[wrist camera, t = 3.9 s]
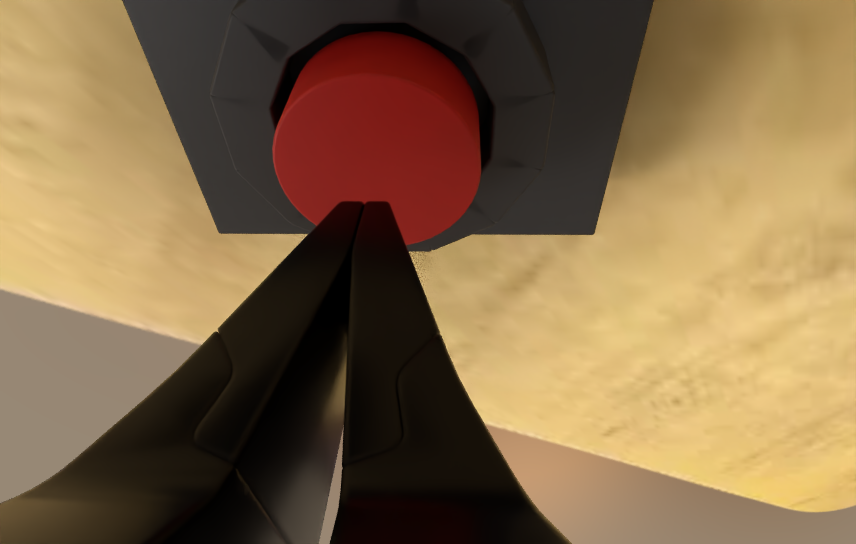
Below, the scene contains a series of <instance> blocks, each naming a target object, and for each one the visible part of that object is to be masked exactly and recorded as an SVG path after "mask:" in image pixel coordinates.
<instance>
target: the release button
mask: <svg viewBox="0 0 856 544" xmlns="http://www.w3.org/2000/svg"><path fill="white" fill-rule="evenodd" d="M272 150H273V162H274V167H275V172H276V175H277V177H278V180H279V183H280V185H281V187H282V189H283V191H284V193H285V194H286V196H287V197H288V199H289V200H290V201H291V203H292V204H293V205H294V206H295V207H296V208H297V210H298V211H299V212H300V213H301V214H302V215H304V216H305V217H306V218H307V219H308V220H309V221H311V222H312V223H314V224H315V225H316V226H317V225H318V224H319V223H320V222H321V221H322V220H323V219H324V217H325V216H326V215H327V214H328V213H329V212H330V211H331V210H332V209H333V208H334V207H335V206H336V205H337V204H338V203H339V202H341V201H362V202H363V203H364V204H365V203H366V202H367V201H387V202H389V203H390V205H391V208H392V211H393V213H394V216H395V218H396V221H397V223H398V226H399V229H400V231H401V234H402V236H403V239H404V241H405V244H406V245H410V244H414V243H418V242H421V241H424V240H427V239H430V238H432V237H434V236H436V235H438V234H440V233H442V232H443V231H445V230H446V229H448V228H449V227H451V226H452V225H453V224H454V223H455V222H457V221H458V220H459V219H460V217H461V216H462V215H463V214H464V213H465V212H466V210H467V209H468V207H469V206H470V204H471V203H472V201H473V199H474V197H475V195H476V193H477V190H478V186H479V183H480V176H481V153H480V132H479V113H478V108H477V102H476V99H475V96H474V94H473V91H472V89H471V87H470V85H469V83H468V81H467V79H466V78H465V77H464V75H463V74H462V72H461V71H460V70H459V68H458V67H457V66H456V65H455V64H454V63H453V62H452V61H451V60H450V59H449V58H448V57H446V56H445V55H444V54H443V53H442V52H440V51H439V50H437V49H435V48H434V47H432V46H431V45H429V44H427V43H425V42H423V41H421V40H418V39H416V38H413V37H410V36H407V35H404V34H398V33H393V32H381V31H372V32H361V33H357V34H352V35H348V36H346V37H343V38H340V39H338V40H335V41H334V42H332V43H330V44H328V45H326V46H325V47H323V48H322V49H321V50H320V51H318V52H317V53H316V54H315V55H314V56H313V57H312V58H311V59H310V60H309V61H308V62H307V63H306V65H305V66H304V68H303V69H302V70H301V72H300V74H299V76H298V78H297V80H296V82H295V85H294V87H293V89H292V92H291V94H290V96H289V99H288V101H287V103H286V106H285V108H284V110H283V113H282V115H281V118H280V120H279V122H278V125H277V127H276V131H275V134H274V139H273V148H272Z"/></svg>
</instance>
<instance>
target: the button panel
mask: <svg viewBox="0 0 856 544" xmlns="http://www.w3.org/2000/svg"><path fill="white" fill-rule="evenodd" d="M122 1H123V3H124V6H125V8H126V10H127V13H128V15H129V18H130V20H131V22H132V25H133V27H134V30H135V32H136V34H137V37H138V39H139V42H140V44H141V46H142V49H143V51H144V54H145V56H146V59H147V61H148V63H149V66H150V68H151V71H152V73H153V75H154V78H155V80H156V83H157V85H158V87H159V90H160V92H161V95H162V97H163V99H164V102H165V104H166V107H167V109H168V111H169V114H170V116H171V119H172V121H173V123H174V126H175V128H176V131H177V133H178V135H179V138H180V140H181V143H182V145H183V147H184V150H185V152H186V155H187V157H188V159H189V162H190V164H191V167H192V169H193V171H194V174H195V176H196V179H197V181H198V184H199V186H200V188H201V191H202V193H203V196H204V198H205V200H206V203H207V205H208V208H209V210H210V212H211V215H212V217H213V220H214V222H215V224H216V227H217V229H218V232H219V233H221V234H309V233H310V232H311V231H312V230H313V229H314V228H315V227H316V225H315V224H314V223H312V222H311V221H309V220H308V219H307V218H306V217H305V216H304V215H302V214H301V213H300V212H299V211H298V210H297V208H296V207H295V206H294V205H293V204H292V203H291V201H290V200H289V199H288V197H287V196H286V194H285V193H284V191H283V189H282V187H281V185H280V183H279V180H278V177H277V175H276V172H275V167H274V162H273V150H272V148H273V139H274V134H275V131H276V127H277V125H278V122H279V120H280V118H281V115H282V113H283V110H284V108H285V106H286V103H287V101H288V99H289V96H290V94H291V92H292V89H293V87H294V85H295V82H296V80H297V78H298V76H299V74H300V72H301V70H302V69H303V68H304V66H305V65H306V63H307V62H308V61H309V60H310V59H311V58H312V57H313V56H314V55H315V54H316V53H317V52H318V51H320V50H321V49H322V48H323V47H325V46H326V45H328V44H330V43H332V42H334V41H335V40H338V39H340V38H343V37H346V36H348V35H352V34H357V33H361V32H372V31H381V32H393V33H398V34H404V35H407V36H410V37H413V38H416V39H418V40H421V41H423V42H425V43H427V44H429V45H431V46H432V47H434V48H435V49H437V50H439V51H440V52H442V53H443V54H444V55H445V56H446V57H448V58H449V59H450V60H451V61H452V62H453V63H454V64H455V65H456V66H457V67H458V68H459V70H460V71H461V72H462V74H463V75H464V77H465V78H466V79H467V81H468V83H469V85H470V87H471V89H472V91H473V94H474V96H475V99H476V102H477V108H478V113H479V132H480V153H481V176H480V183H479V186H478V190H477V193H476V195H475V197H474V199H473V201H472V203H471V204H470V206H469V207H468V209H467V210H466V212H465V213H464V214H463V215H462V216H461V217H460V219H459V220H458V221H457V222H455V223H454V224H453V225H452V226H451V227H449V228H448V229H446V230H445V231H443V232H442V233H440V234H438V235H436V236H434V237H432V238H430V239H427V240H424V241H421V242H418V243H414V244H410V245H406V247H407V249H408V251H425V252H429V251H431V250H435V249H438V248H440V247H443V246H445V245H447V244H450V243H452V242H455V241H457V240H460V239H462V238H464V237H467V236H469V235H472V234H500V235H593V234H594V233H595V229H596V225H597V221H598V217H599V213H600V209H601V205H602V201H603V197H604V193H605V190H606V186H607V182H608V178H609V174H610V170H611V166H612V162H613V158H614V154H615V150H616V147H617V143H618V139H619V135H620V131H621V127H622V123H623V119H624V115H625V111H626V107H627V104H628V100H629V96H630V92H631V88H632V84H633V80H634V76H635V72H636V68H637V64H638V61H639V57H640V53H641V49H642V45H643V41H644V37H645V33H646V29H647V25H648V22H649V18H650V14H651V10H652V6H653V2H654V0H122Z"/></svg>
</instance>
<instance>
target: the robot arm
mask: <svg viewBox="0 0 856 544" xmlns="http://www.w3.org/2000/svg"><path fill="white" fill-rule="evenodd" d="M218 332H219V333H218ZM218 332H214V333H213V334H212V335H211V336H210V337H209V338H208V339H207V340H206V341H205V342H204V343H203V344H202V345H201V346H200V347H199V348H198V349H197V350H196V351H195V352H194V353H193V354H192V355H191V356H190V357H189V358H188V359H187V360H186V361H185V362H184V363H183V364H182V365H181V366H180V367H179V368H178V369H177V370H176V371H175V372H174V373H173V374H172V375H171V376H170V377H169V378H167V379H166V380H165V381H164V382H163V383H162V384H161V385H160V386H159V387H157V388H156V389H155V390H154V391H153V392H152V393H151V394H150V395H148V396H147V397H146V398H145V399H144V400H143V401H142V402H140V403H139V404H138V405H137V406H136V407H135V408H134V409H132V410H131V411H130V412H129V413H128V414H127V415H125V416H124V417H123V418H122V419H121V420H120V421H118V422H117V423H116V424H115V425H114V426H113V427H112V428H110V429H109V430H108V431H107V432H106V433H104V434H103V435H102V436H101V437H100V438H99V439H97V440H96V441H95V442H94V443H93V444H92V445H91V446H89V447H88V448H87V449H86V450H85V451H83V453H81V454H80V455H79V456H78V457H77V458H75V459H74V460H73V461H72V462H70V463H69V464H68V465H67V466H66V467H64V468H63V469H62V470H60V471H59V472H58V473H56V474H55V475H53V476H52V477H50V478H49V479H47V480H46V481H44V482H42V483H41V484H39V485H38V486H36V487H34V488H32V489H31V490H29V491H27V492H25V493H23V494H20V495H19V496H16V497H14V498H11V499H9V500H7V501H4V502H2V503H0V544H319V539H320V535H321V530H322V525H323V520H324V516H325V511H326V506H327V501H328V496H329V492H330V487H331V482H332V478H333V473H334V468H335V463H336V459H337V454H338V449H339V444H340V440H341V435H342V430H343V425H344V431H343V455H342V467H343V469H342V478H341V491H340V500H339V508H338V512H337V517H336V520H335V525H334V529H333V533H332V536H331V540H330V544H572V543H571V542H570V541H569V540H568V539H567V538H566V537H565V536H564V535H563V534H562V533H561V532H560V531H559V530H558V529H557V528H556V527H555V526H554V525H553V524H552V523H551V522H550V521H549V520H548V519H547V518H546V517H545V516H544V515H543V514H542V513H541V512H540V511H539V510H538V508H537V507H536V506H535V504H534V503H533V502H532V500H531V499H530V498H529V496H528V495H527V494H526V492H525V491H524V489H523V488H522V486H521V485H520V483H519V482H518V480H517V478H516V477H515V475H514V474H513V472H512V470H511V469H510V467H509V465H508V463H507V462H506V460H505V459H504V457H503V455H502V453H501V452H500V450H499V448H498V446H497V445H496V443H495V442H494V440H493V438H492V436H491V434H490V433H489V432H488V429H487V428H486V426H485V424H484V422H483V421H482V419H481V417H480V415H479V414H478V412H477V410H476V409H475V407H474V405H473V403H472V401H471V400H470V398H469V396H468V394H467V392H466V390H465V388H464V386H463V384H462V382H461V381H460V379H459V377H458V374H457V372H456V370H455V368H454V365H453V363H452V361H451V358H450V356H449V354H448V351H447V349H446V346H445V344H444V341H443V339H442V336H441V335H440V331H439V329H438V326H437V324H436V321H435V319H434V316H433V313H432V311H431V308H430V306H429V303H428V301H427V298H426V295H425V293H424V290H423V288H422V285H421V283H420V280H419V277H418V275H417V272H416V270H415V267H414V265H413V262H412V259H411V257H410V254H409V252H408V249H407V247H406V244H405V241H404V239H403V236H402V234H401V231H400V229H399V226H398V223H397V221H396V218H395V216H394V213H393V211H392V208H391V205H390V203H389V202H387V201H367V202H366V203H365V204H364V203H363V202H362V201H341V202H339V203H338V204H337V205H336V206H335V207H334V208H333V209H332V210H331V211H330V212H329V213H328V214H327V215H326V216H325V217H324V219H323V220H322V221H321V222H320V223H319V224H318V225H317V226H316V227H315V228H314V229H313V230H312V231H311V232H310V233H309V234H308V235H307V236H306V237H305V238H304V239H303V240H302V241H301V242H300V244H299V245H298V246H297V247H296V248H295V249H294V250H293V251H292V252H291V253H290V254H289V255H288V256H287V257H286V258H285V259H284V260H283V261H282V262H281V263H280V264H279V265H278V266H277V267H276V268H275V270H274V271H273V272H272V273H271V274H270V275H269V276H268V277H267V278H266V279H265V280H264V281H263V282H262V283H261V284H260V285H259V286H258V287H257V288H256V289H255V290H254V291H253V292H252V293H251V294H250V296H249V297H248V298H247V299H246V300H245V301H244V302H243V303H242V304H241V305H240V306H239V307H238V308H237V309H236V310H235V311H234V312H233V313H232V314H231V315H230V316H229V317H228V318H227V319H226V321H225V322H224V323H223V324H222V325H221V326H220V327H219V328H218Z"/></svg>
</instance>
